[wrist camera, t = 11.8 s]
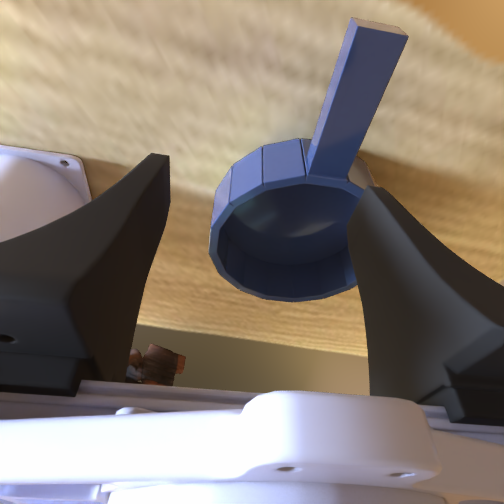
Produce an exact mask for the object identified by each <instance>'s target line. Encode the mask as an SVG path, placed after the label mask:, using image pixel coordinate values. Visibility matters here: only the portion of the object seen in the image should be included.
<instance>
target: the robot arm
mask: <svg viewBox="0 0 504 504" xmlns="http://www.w3.org/2000/svg"><path fill="white" fill-rule="evenodd" d="M63 160H65V161H67V162H68V163H69V164H67V163H65V162H64V161H63ZM170 202H171V201H170V161H169V156H168V155H161V154H155V153H151V154H150V155H148V156H147V157H146V158H145V159H144V160H143V161H141V162H140V163H139V164H138V165H137V166H136V167H135V168H134V169H132V170H131V171H130V172H129V173H128V174H127V175H125V176H124V177H123V178H122V179H121V180H119V181H118V182H117V183H116V184H114V185H113V186H112V187H110V188H109V189H108V190H106V191H105V192H104V193H102V194H101V195H99V196H98V197H97V198H95V199H94V200H92V198H91V194H90V190H89V186H88V182H87V178H86V174H85V170H84V166H83V162H82V160H81V159H80V158H78V157H77V156H74V155H67V154H60V153H53V152H47V151H40V150H33V149H26V148H19V147H12V146H5V145H0V504H504V287H503V286H502V285H500V284H498V283H497V282H495V281H494V280H492V279H491V278H489V277H487V276H486V275H484V274H483V273H481V272H480V271H478V270H477V269H475V268H474V267H472V266H471V265H470V264H468V263H467V262H465V261H464V260H463V259H462V258H460V257H459V256H458V255H456V254H455V253H454V252H452V251H451V250H450V249H449V248H447V247H446V246H445V245H444V244H443V243H441V242H440V241H439V240H438V239H437V238H436V237H435V236H433V235H432V234H431V233H430V232H429V231H428V230H427V229H426V228H425V227H424V226H423V225H422V224H420V223H419V222H418V221H417V220H416V219H415V218H414V217H413V216H412V215H411V214H410V213H409V212H408V211H407V210H406V209H405V208H404V207H403V206H402V205H401V204H400V203H399V202H398V201H397V200H396V199H395V198H394V197H393V196H392V195H391V194H390V193H389V192H388V191H386V190H385V189H384V188H382V187H375V186H369V185H367V187H366V189H365V191H364V192H363V194H362V196H361V198H360V200H359V202H358V204H357V206H356V208H355V210H354V212H353V214H352V216H351V218H350V220H349V222H348V224H347V239H348V248H349V252H350V257H351V261H352V265H353V269H354V273H355V277H356V281H357V285H358V288H359V292H360V296H361V301H362V306H363V313H364V321H365V328H366V338H367V349H368V363H369V380H370V396H364V395H351V394H337V393H325V392H312V391H299V390H297V391H274V392H270V393H253V392H239V391H226V390H211V389H199V388H198V389H197V388H186V387H172V386H159V385H145V384H132V383H125V378H126V373H127V367H128V362H129V357H130V352H131V347H132V342H133V336H134V332H135V327H136V323H137V318H138V314H139V309H140V305H141V300H142V296H143V292H144V288H145V283H146V280H147V277H148V274H149V271H150V268H151V265H152V262H153V260H154V257H155V254H156V251H157V248H158V246H159V243H160V240H161V237H162V234H163V231H164V229H165V226H166V221H167V217H168V212H169V207H170Z"/></svg>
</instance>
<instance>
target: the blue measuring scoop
mask: <svg viewBox="0 0 504 504" xmlns="http://www.w3.org/2000/svg"><path fill="white" fill-rule="evenodd" d="M408 38H409V36H408V35H407V34H406V33H405V32H404V31H403V30H402V29H401V28H400V27H397V26H392V25H388V24H383V23H378V22H373V21H368V20H363V19H358V18H353V17H352V18H351V19H350V22H349V25H348V28H347V31H346V34H345V38H344V41H343V44H342V47H341V50H340V53H339V56H338V60H337V63H336V66H335V69H334V72H333V75H332V78H331V81H330V85H329V88H328V91H327V94H326V97H325V100H324V103H323V107H322V110H321V113H320V116H319V119H318V122H317V125H316V129H315V132H314V135H313V138H312V140H310V139H303V138H301V139H299V138H298V139H293V140H288V141H283V142H279V143H274V144H269V145H264V146H263V147H260V148H258V149H257V150H255V151H254V152H252V153H250V154H249V155H247V156H246V157H244V158H243V159H241V160H239V161H238V162H236V163H235V164H233V166H231V168H230V170H229V171H228V173H227V174H226V176H225V177H224V179H223V180H222V182H221V183H220V185H219V186H218V188H217V190H216V193H215V200H214V207H213V214H212V221H211V228H210V238H209V249H208V252H209V255H210V257H211V259H212V261H213V263H214V265H215V267H216V269H217V271H218V273H219V274H220V275H221V276H222V277H223V278H224V279H226V280H227V281H228V282H229V283H231V284H232V285H233V286H234V287H236V288H237V289H239V290H240V291H243V292H245V293H248V294H251V295H254V296H256V297H259V298H262V299H266V300H274V301H284V302H293V301H294V302H302V301H311V300H319V299H323V298H324V299H325V298H328V297H330V296H333V295H336V294H339V293H342V292H344V291H347V290H350V289H351V288H354V287H355V286H356V285H357V281H356V277H355V273H354V269H353V265H352V261H351V257H350V252H349V248H348V239H347V224H348V222H349V220H350V218H351V216H352V214H353V212H354V210H355V208H356V206H357V204H358V202H359V200H360V198H361V196H362V194H363V192H364V191H365V189H366V187H367V185H369V186H375V187H378V185H377V183H376V181H375V179H374V177H373V175H372V173H371V172H370V170H369V168H368V166H367V164H366V163H365V162H364V161H363V160H362V159H360V158H359V157H357V156H356V155H357V153H358V150H359V148H360V146H361V144H362V141H363V139H364V137H365V135H366V132H367V130H368V128H369V126H370V123H371V121H372V119H373V116H374V114H375V112H376V110H377V107H378V105H379V103H380V101H381V98H382V96H383V94H384V92H385V89H386V87H387V85H388V83H389V80H390V78H391V76H392V74H393V71H394V69H395V67H396V65H397V62H398V60H399V58H400V56H401V53H402V51H403V49H404V47H405V44H406V42H407V40H408Z"/></svg>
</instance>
